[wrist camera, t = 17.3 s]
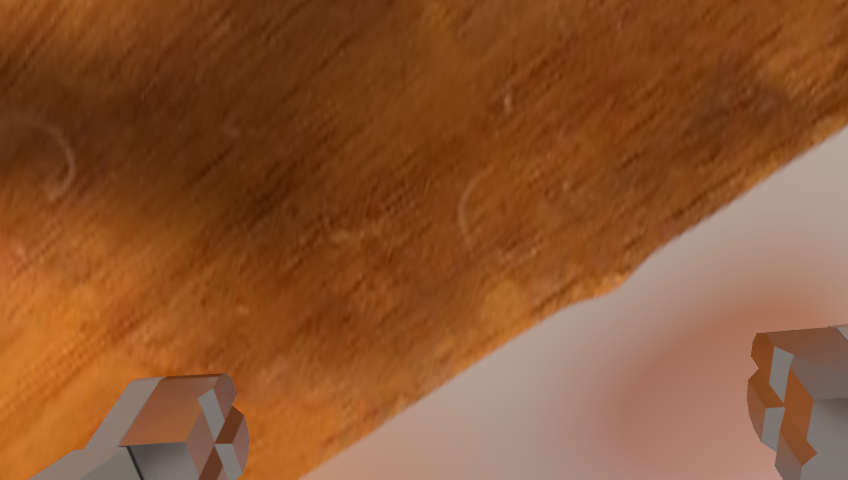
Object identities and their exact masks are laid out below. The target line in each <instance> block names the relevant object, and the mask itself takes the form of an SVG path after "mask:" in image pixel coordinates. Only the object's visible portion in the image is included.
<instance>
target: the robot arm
mask: <svg viewBox="0 0 848 480" xmlns="http://www.w3.org/2000/svg"><path fill="white" fill-rule="evenodd" d="M751 357H752V358H753V360H754V361H755V363H756V364H757V366H758V368H759V369H758V370H757V371H756V372H755V373H754V374H753V375H752V376H751V378H750V379H749V380H748V390H747V402H748V409H749V415H750V419H751V421H752V424H753V427H754V430H755V432H756V433H757V435H758V437H759V439H760V441H761V442H762V443H763V444H765V445H766V446H768V447H770V448H771V449H773V450H775V451H776V452H777V454H776V460H775V467H776V469H777V470H778V472H779V474H780V476H781V477H782V479H783V480H848V324H845V325H835V326H828V327H827V328H815V329H802V330H790V331H780V332H779V331H778V332H766V333H757V334H756V336H755V339H754V341H753V346H752V352H751ZM236 395H237V392H236V389H235V386H234V384H233V381H232V378H231V377H230V376H228V375H227V374H225V373H220V374H202V375H183V376H167V377H152V378H139V379H136V380H134V381H132V382H130V383H129V385H128V386H127V388H126V389H125V390H124V392H123V393H122V395H121V396H120V398H119V399H118V401H117V402H116V403H115V405H114V406H113V408H112V409H111V411H110V412H109V413H108V415H107V416H106V418H105V419H104V421H103V422H102V423H101V425H100V426H99V428H98V429H97V431H96V432H95V433H94V435H93V436H92V438H91V439H90V441H89V442H88V443H87V445H86V446H85V448H84V449H83V450H73V451H72V452H70V453H69V454H67V455H66V456H64V457H63V458H61V459H59V460H58V461H56V462H55V463H53V464H52V465H50V466H49V467H47V468H46V469H44V470H42V471H41V472H39V473H38V474H36V475H35V476H33V477H32V478H30V479H28V480H236V479H237V478H239V477H240V476H241V475H242V474H243V471H244V468H245V465H246V463H247V460H248V451H249V433H248V426H247V423H246V420H245V416H244V415H243V414H242V413H241V412H240V411H238V410H237V409H236V408H235V407H233V406H232V404H233V402H234V400H235V397H236Z"/></svg>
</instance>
